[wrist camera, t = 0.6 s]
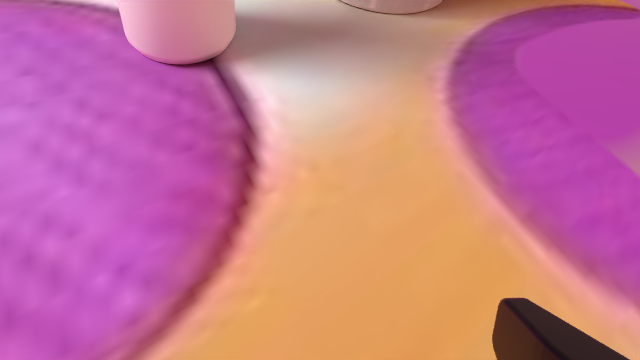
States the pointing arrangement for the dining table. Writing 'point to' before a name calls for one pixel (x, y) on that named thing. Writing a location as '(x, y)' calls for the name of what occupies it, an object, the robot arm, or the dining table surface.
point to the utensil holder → (394, 5)
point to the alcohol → (178, 28)
